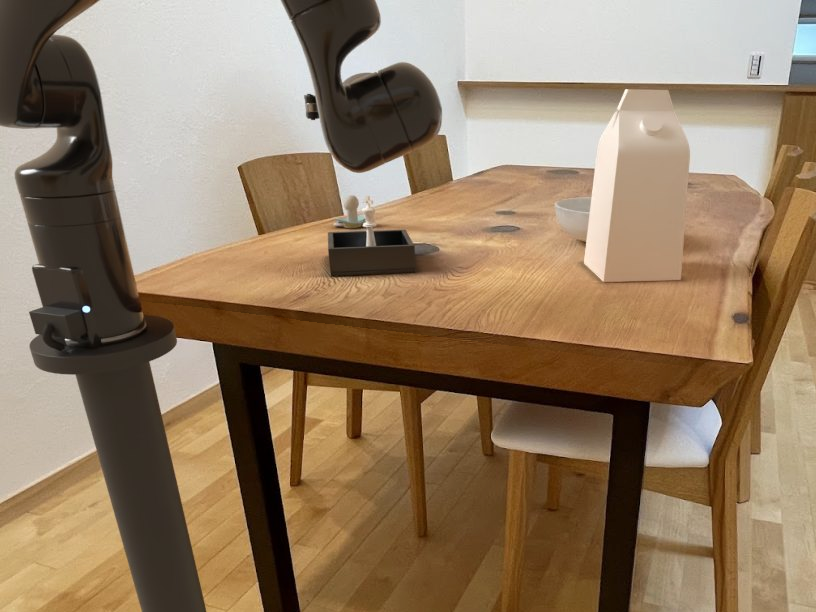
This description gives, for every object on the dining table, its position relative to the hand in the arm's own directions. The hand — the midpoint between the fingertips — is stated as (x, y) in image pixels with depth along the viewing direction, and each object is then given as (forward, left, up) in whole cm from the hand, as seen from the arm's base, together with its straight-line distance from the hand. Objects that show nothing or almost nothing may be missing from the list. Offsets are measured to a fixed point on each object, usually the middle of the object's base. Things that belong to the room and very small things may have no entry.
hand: (362, 105), depth 86 cm
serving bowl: (+38, -29, -24) cm, 53 cm away
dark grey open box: (+9, +5, -24) cm, 26 cm away
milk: (+18, -35, -24) cm, 46 cm away
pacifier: (+36, +23, -24) cm, 49 cm away
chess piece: (+9, +5, -23) cm, 25 cm away
